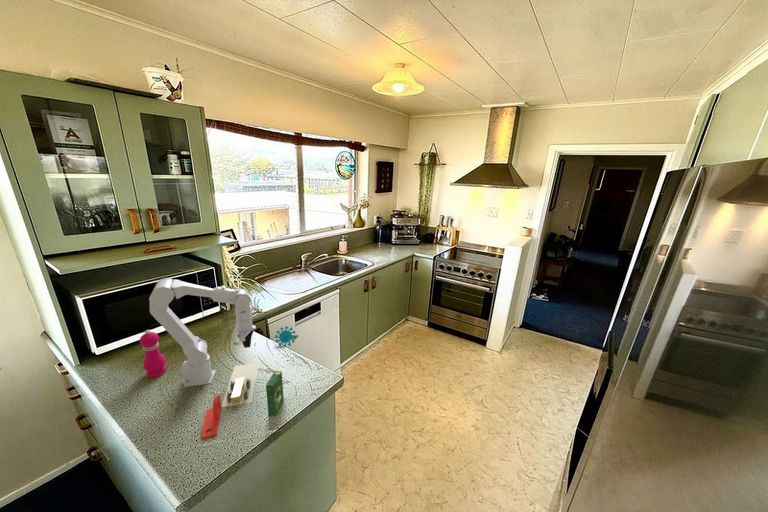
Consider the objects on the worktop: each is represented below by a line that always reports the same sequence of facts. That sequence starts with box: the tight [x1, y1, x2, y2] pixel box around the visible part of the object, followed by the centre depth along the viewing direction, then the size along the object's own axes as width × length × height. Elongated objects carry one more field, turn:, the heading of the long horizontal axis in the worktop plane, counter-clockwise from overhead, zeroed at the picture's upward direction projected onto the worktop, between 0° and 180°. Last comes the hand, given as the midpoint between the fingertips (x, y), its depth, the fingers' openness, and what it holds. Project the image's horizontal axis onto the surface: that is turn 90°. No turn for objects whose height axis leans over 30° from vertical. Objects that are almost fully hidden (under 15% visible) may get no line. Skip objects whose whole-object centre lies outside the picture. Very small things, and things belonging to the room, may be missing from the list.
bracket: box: [200, 394, 223, 440], centre depth 97 cm, size 12×4×8 cm, turn 21°
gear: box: [274, 326, 299, 348], centre depth 144 cm, size 11×6×10 cm
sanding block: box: [231, 377, 245, 404], centre depth 110 cm, size 3×10×3 cm, turn 16°
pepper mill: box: [139, 329, 167, 378], centre depth 117 cm, size 7×7×20 cm
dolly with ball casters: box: [227, 378, 251, 402], centre depth 110 cm, size 7×8×3 cm
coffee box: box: [265, 370, 285, 417], centre depth 104 cm, size 8×3×13 cm, turn 178°
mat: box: [221, 362, 260, 408], centre depth 116 cm, size 10×23×1 cm, turn 15°
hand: (247, 346), depth 123 cm, fingers closed
